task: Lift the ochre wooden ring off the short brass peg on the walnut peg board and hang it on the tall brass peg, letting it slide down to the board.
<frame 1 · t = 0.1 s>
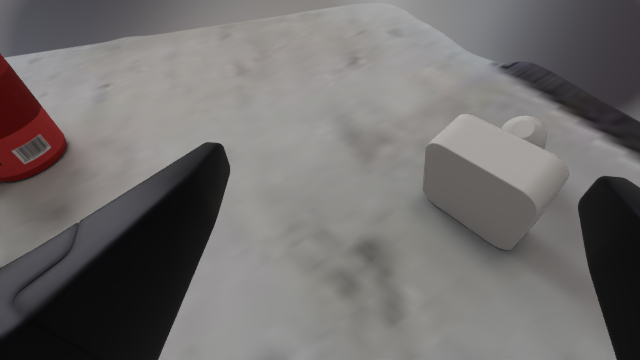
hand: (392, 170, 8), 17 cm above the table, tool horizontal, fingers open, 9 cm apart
grey block: (487, 199, 28), on the table
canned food: (31, 158, 35), on the table
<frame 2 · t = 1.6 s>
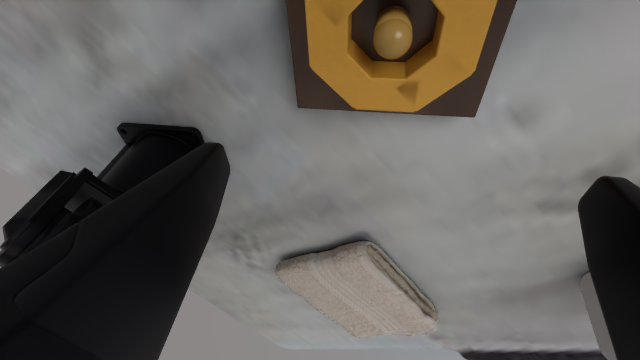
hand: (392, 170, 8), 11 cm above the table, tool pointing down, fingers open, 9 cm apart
washcloth: (363, 284, 36), on the table
ring: (393, 21, 15), point 1 cm above the table, touching peg rack
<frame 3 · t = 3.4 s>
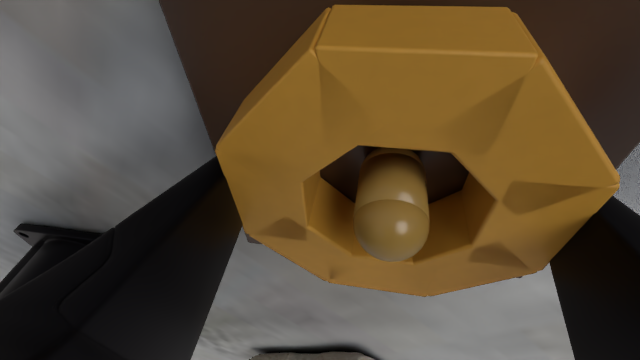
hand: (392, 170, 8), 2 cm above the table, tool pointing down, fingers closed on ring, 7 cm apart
ring: (391, 160, 8), point 1 cm above the table, touching gripper, peg rack
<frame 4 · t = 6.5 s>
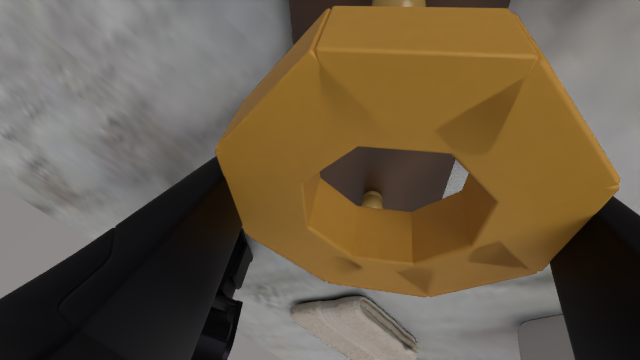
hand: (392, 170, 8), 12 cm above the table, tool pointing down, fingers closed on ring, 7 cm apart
washcloth: (358, 321, 46), on the table
grey block: (571, 327, 37), on the table
ring: (391, 161, 8), point 11 cm above the table, touching gripper
peg rack: (381, 107, 20), on the table
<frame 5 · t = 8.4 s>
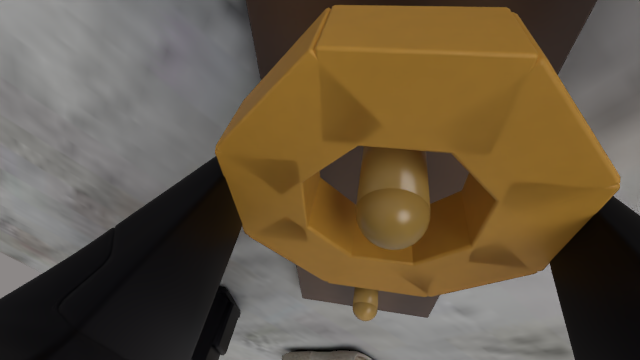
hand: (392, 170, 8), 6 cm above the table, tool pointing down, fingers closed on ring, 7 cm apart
ring: (391, 161, 8), point 5 cm above the table, touching gripper
peg rack: (377, 199, 18), on the table
when the fingers open (2 cm above the table, at t = 10.0 s): ring stays where it is, resting on peg rack.
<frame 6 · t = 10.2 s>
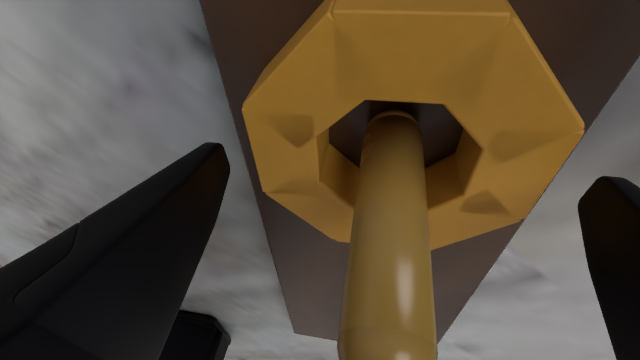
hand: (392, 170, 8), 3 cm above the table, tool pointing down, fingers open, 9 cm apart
ring: (393, 125, 9), point 1 cm above the table, touching peg rack
peg rack: (373, 242, 16), on the table
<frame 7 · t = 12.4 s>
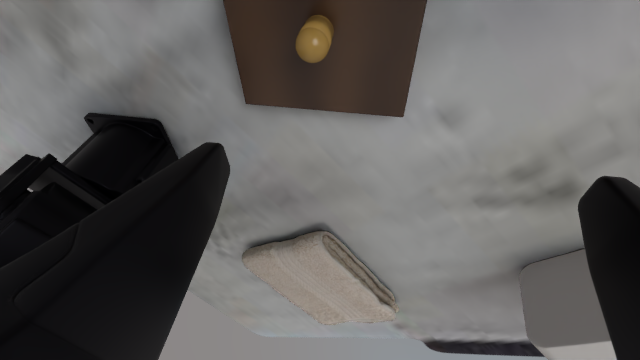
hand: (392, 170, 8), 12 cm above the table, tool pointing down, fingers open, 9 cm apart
washcloth: (327, 273, 38), on the table
grey block: (585, 272, 29), on the table
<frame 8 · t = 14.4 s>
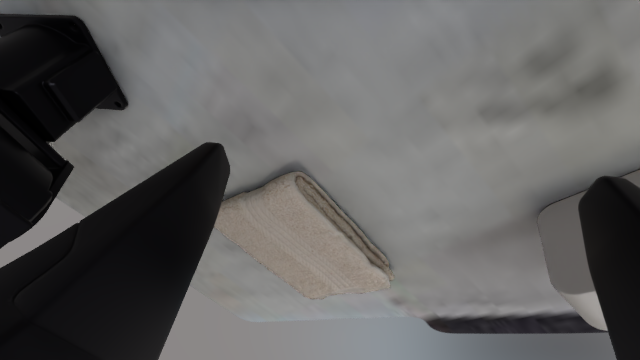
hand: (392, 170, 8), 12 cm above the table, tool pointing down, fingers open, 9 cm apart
washcloth: (309, 235, 33), on the table
grey block: (620, 213, 24), on the table
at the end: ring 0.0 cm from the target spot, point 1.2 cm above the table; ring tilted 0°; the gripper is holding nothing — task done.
